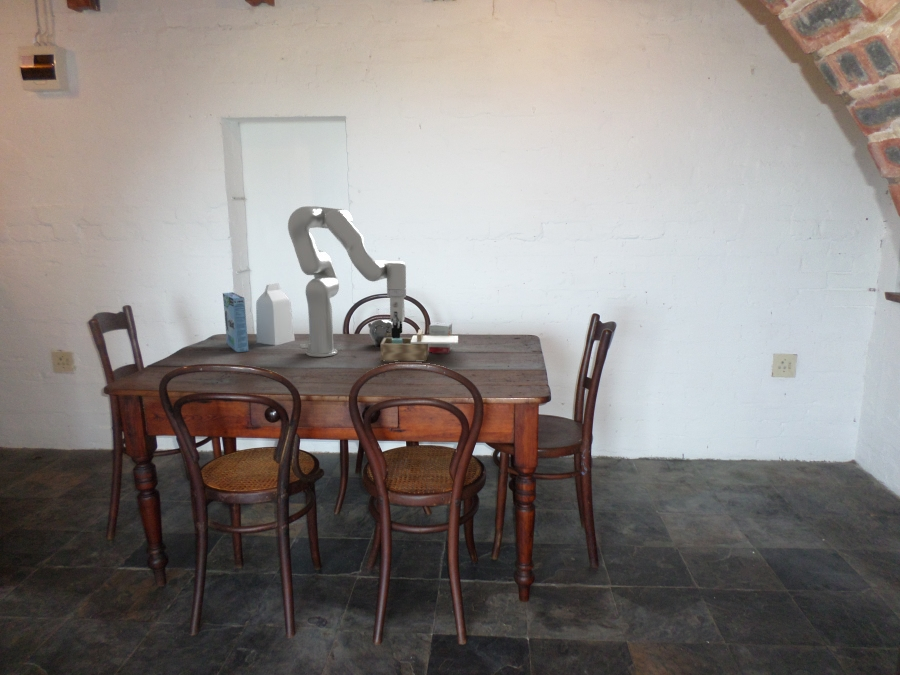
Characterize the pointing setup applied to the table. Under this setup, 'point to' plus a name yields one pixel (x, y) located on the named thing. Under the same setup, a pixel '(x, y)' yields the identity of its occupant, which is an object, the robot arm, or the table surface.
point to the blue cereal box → (235, 321)
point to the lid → (433, 339)
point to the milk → (274, 317)
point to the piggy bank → (380, 330)
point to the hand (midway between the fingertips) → (397, 335)
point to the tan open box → (403, 351)
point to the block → (397, 341)
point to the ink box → (440, 330)
